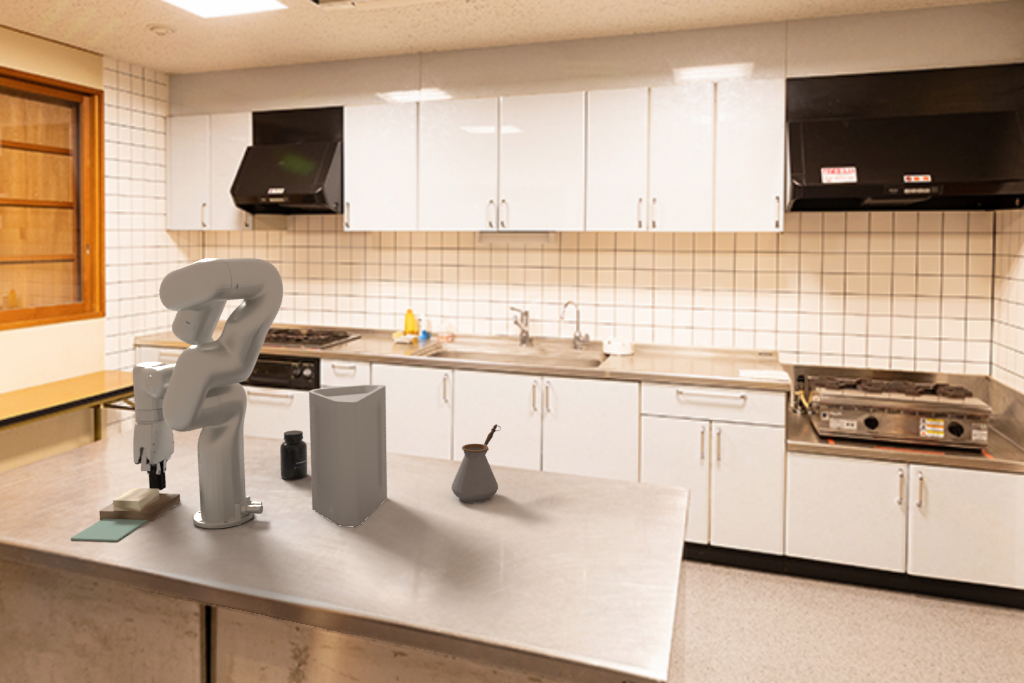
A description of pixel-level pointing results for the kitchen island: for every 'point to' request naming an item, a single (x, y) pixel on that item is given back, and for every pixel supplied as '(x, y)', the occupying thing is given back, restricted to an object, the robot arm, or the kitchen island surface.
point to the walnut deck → (145, 514)
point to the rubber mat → (109, 530)
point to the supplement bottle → (293, 456)
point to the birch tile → (136, 499)
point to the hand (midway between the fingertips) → (157, 488)
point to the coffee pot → (475, 474)
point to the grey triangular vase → (348, 452)
